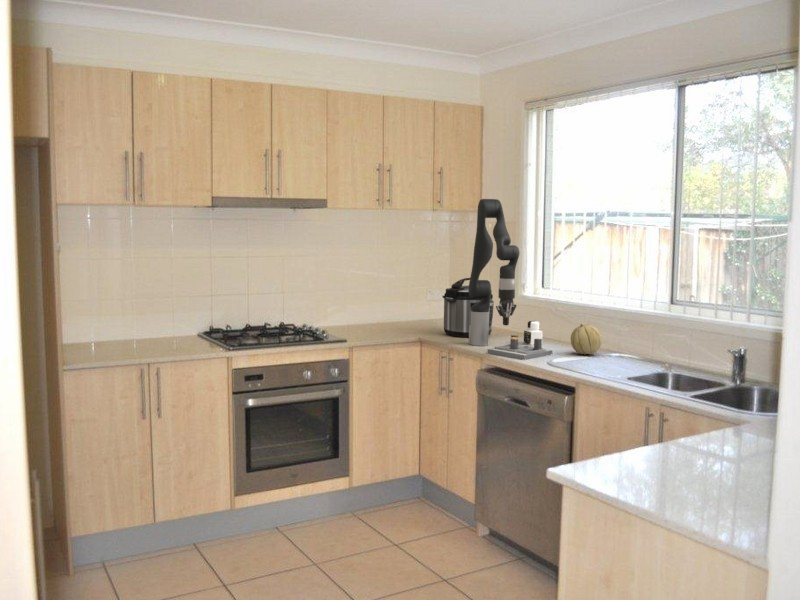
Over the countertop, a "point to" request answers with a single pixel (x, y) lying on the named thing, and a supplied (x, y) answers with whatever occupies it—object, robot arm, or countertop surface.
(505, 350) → the panel
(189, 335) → the countertop surface
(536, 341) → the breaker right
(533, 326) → the medicine bottle
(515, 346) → the post
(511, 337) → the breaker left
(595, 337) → the cantaloupe
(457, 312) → the pressure cooker
